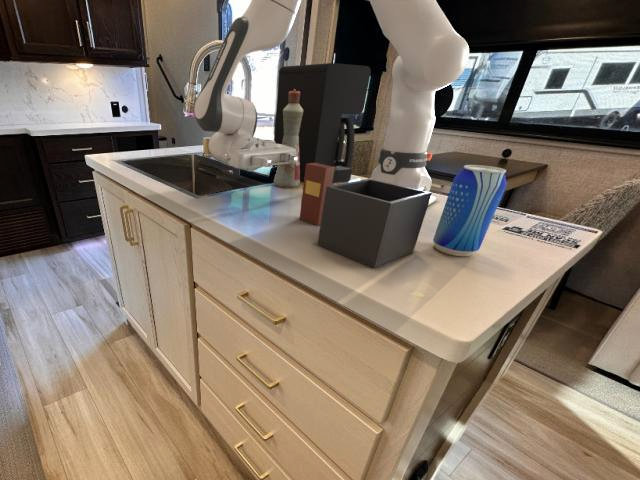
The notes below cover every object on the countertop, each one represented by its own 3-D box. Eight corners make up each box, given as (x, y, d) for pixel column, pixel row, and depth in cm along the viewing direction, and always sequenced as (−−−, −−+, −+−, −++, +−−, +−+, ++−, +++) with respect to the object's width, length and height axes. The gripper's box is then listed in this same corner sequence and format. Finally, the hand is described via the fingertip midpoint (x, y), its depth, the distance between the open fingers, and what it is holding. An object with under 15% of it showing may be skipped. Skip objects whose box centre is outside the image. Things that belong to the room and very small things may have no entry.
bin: (357, 232, 77) (368, 178, 71) (413, 251, 68) (432, 192, 62) (317, 244, 70) (326, 186, 64) (374, 268, 61) (391, 203, 55)
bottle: (269, 183, 118) (276, 88, 103) (293, 182, 120) (303, 89, 105) (278, 189, 111) (286, 88, 96) (303, 188, 113) (315, 89, 98)
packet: (307, 216, 86) (314, 162, 79) (325, 223, 82) (335, 166, 75) (299, 218, 85) (305, 163, 78) (317, 225, 81) (325, 168, 74)
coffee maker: (359, 183, 122) (384, 65, 103) (318, 188, 113) (337, 60, 95) (309, 169, 142) (322, 68, 124) (271, 172, 134) (278, 65, 115)
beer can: (483, 260, 66) (521, 174, 57) (437, 255, 67) (468, 170, 59) (468, 244, 73) (499, 165, 64) (426, 240, 74) (452, 162, 66)
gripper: (218, 143, 87) (251, 150, 78) (276, 139, 98) (311, 145, 89) (218, 169, 91) (250, 179, 81) (274, 162, 102) (308, 171, 92)
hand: (282, 161), depth 85 cm, fingers open, 8 cm apart
